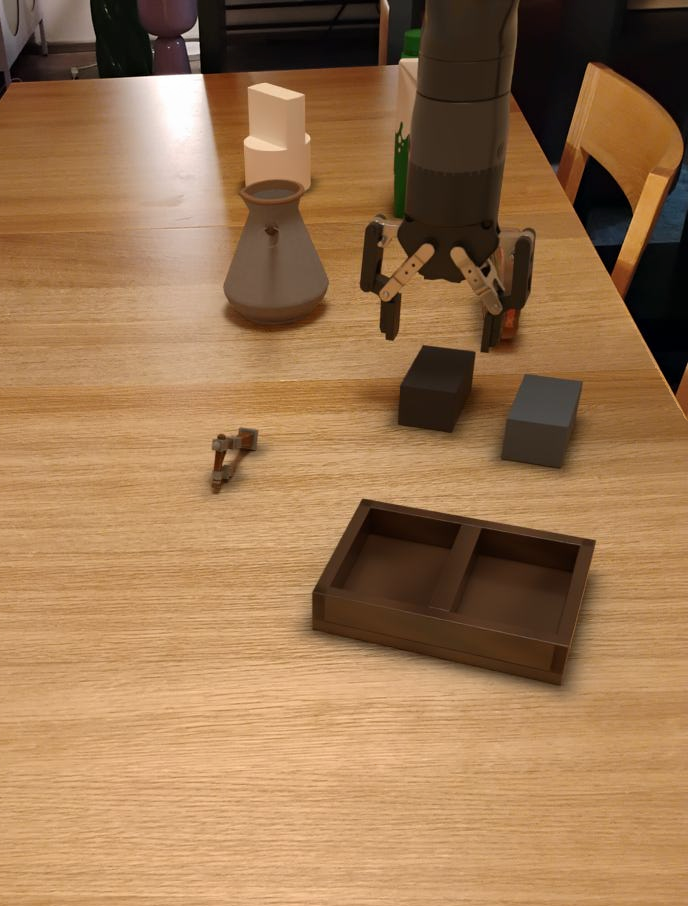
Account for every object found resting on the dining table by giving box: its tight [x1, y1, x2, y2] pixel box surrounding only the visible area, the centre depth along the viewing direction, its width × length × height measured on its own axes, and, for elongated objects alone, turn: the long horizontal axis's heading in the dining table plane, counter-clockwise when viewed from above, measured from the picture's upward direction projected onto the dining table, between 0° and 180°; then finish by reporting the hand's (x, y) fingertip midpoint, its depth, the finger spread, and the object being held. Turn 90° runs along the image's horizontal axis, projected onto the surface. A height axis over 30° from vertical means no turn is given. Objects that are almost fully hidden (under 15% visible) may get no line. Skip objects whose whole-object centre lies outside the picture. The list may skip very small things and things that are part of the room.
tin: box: [481, 226, 522, 340], centre depth 105 cm, size 15×3×8 cm, turn 172°
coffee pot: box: [222, 179, 330, 326], centre depth 105 cm, size 21×12×15 cm, turn 176°
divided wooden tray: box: [311, 497, 597, 686], centre depth 74 cm, size 18×12×4 cm
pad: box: [500, 373, 584, 469], centre depth 89 cm, size 5×8×4 cm, turn 157°
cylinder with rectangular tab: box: [243, 82, 312, 192], centre depth 138 cm, size 9×9×12 cm
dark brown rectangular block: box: [397, 344, 477, 433], centre depth 95 cm, size 5×8×4 cm, turn 157°
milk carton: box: [393, 28, 422, 219], centre depth 125 cm, size 9×9×20 cm
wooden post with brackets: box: [210, 426, 259, 489], centre depth 90 cm, size 2×8×4 cm, turn 157°
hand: (438, 342), depth 92 cm, fingers open, 8 cm apart
